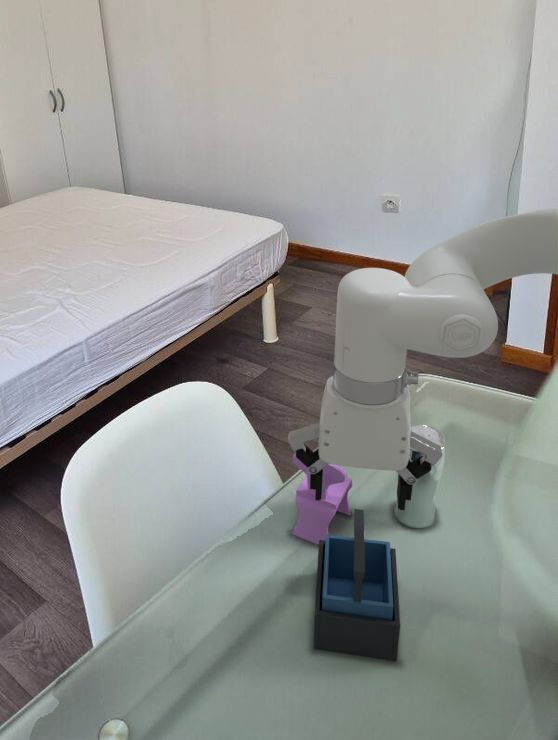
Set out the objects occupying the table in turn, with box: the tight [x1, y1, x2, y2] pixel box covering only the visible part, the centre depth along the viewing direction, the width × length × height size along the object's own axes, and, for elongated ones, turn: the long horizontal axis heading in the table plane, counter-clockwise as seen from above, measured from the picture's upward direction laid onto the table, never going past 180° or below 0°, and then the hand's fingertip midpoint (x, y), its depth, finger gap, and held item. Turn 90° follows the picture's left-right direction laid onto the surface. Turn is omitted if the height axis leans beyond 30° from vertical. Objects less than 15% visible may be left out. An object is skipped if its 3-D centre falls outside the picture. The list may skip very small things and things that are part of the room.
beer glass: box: [393, 423, 447, 529], centre depth 104 cm, size 7×7×15 cm
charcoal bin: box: [313, 540, 401, 663], centre depth 91 cm, size 10×12×7 cm
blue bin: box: [322, 508, 393, 621], centre depth 89 cm, size 8×10×13 cm
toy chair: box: [291, 453, 353, 546], centre depth 104 cm, size 8×9×15 cm
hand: (359, 497), depth 83 cm, fingers open, 9 cm apart
